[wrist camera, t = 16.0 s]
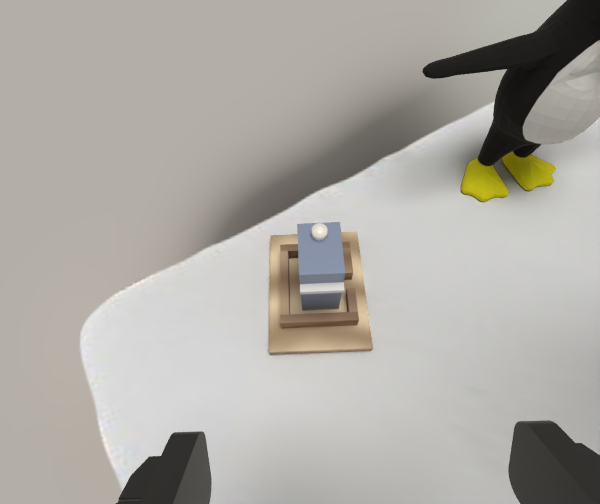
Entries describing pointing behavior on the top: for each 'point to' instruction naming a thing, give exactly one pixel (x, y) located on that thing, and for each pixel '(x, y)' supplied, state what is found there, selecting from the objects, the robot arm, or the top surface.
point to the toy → (534, 95)
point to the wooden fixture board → (316, 323)
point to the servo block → (320, 265)
